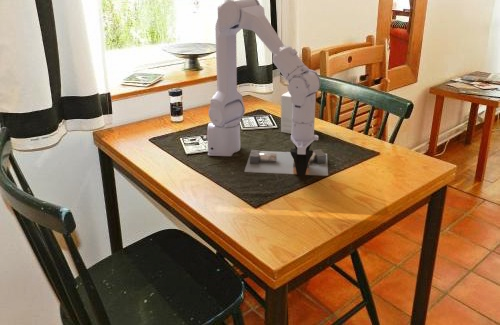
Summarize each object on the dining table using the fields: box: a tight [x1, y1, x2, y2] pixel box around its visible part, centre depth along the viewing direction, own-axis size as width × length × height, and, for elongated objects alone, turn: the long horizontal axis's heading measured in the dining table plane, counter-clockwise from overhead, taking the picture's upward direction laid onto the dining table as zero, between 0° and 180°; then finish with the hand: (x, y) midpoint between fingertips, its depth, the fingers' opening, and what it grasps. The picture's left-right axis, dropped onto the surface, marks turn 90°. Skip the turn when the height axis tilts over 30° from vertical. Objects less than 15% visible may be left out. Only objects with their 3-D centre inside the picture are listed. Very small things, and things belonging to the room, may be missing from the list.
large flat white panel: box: [243, 150, 329, 177], centre depth 125 cm, size 22×14×1 cm, turn 82°
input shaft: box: [249, 149, 277, 164], centre depth 125 cm, size 7×4×3 cm, turn 82°
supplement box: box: [280, 90, 292, 134], centre depth 147 cm, size 7×7×13 cm
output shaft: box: [309, 148, 326, 164], centre depth 125 cm, size 7×4×3 cm, turn 102°
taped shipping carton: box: [292, 162, 310, 176], centre depth 119 cm, size 4×4×5 cm
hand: (301, 168), depth 119 cm, fingers open, 6 cm apart
